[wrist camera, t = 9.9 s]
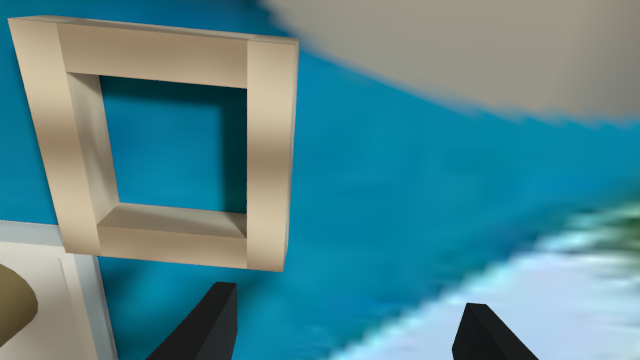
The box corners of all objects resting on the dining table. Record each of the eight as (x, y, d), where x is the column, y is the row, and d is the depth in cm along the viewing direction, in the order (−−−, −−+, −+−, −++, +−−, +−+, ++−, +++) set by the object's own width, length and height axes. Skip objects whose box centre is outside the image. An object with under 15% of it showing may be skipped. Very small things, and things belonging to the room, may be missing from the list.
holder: (287, 245, 24) (282, 271, 21) (91, 228, 24) (65, 252, 21) (299, 38, 18) (295, 45, 16) (47, 15, 18) (7, 18, 16)
